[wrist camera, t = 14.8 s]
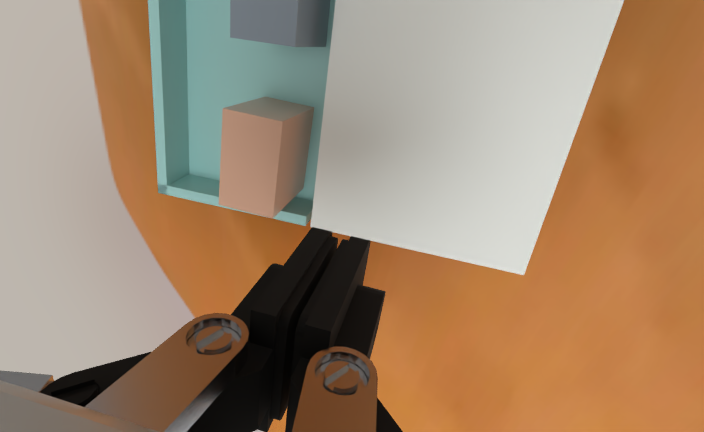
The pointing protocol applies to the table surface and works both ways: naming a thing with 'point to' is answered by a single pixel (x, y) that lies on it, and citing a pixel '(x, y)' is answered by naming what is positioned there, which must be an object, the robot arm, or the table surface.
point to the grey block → (281, 21)
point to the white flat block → (454, 120)
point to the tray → (223, 94)
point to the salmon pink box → (263, 154)
